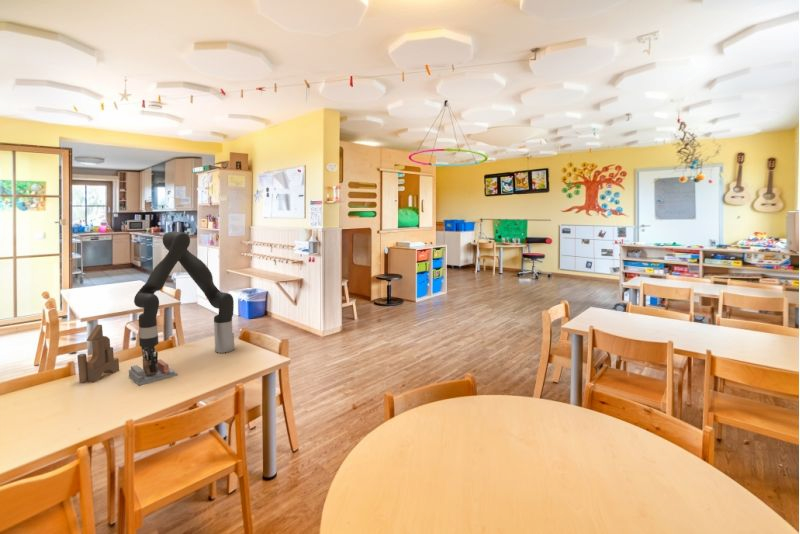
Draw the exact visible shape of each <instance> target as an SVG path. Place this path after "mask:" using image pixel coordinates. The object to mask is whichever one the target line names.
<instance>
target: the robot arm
mask: <svg viewBox="0 0 800 534" xmlns="http://www.w3.org/2000/svg"><path fill="white" fill-rule="evenodd" d="M190 243H191V238H190V236H189V235H188V234H187V233H186V232H183V231H169V232H166V233H164V234H163V237H162V244H163V246H164V247H165V248H166V250H167V251H168V252H167V254H166V255H165V257H164V258H162V260H161V261H160V262H159V263H157V265H156V266H155V267H154V268H153V269H152V271H151V273H150V275H149V276H148V279H147V281H146V282H145V283H144V284H143V286H142V287H141V288H139V290H138V292H136V294H135V295H134V299H133V303H134V305H135V306H136V308H140V309H143V311H142V313H141V314H139V316H138V342H139V343H138V344H139V347H141V352H142V353H141V354H142V360H143V359H144V358H147V360H149V364H150V372H151V373H152V372H155V371H156V366H155V364H157V361H158V360H159V359H158V357H159V355H158V354H159V352H158V351H157V349H156V348H155V347H156V346H158V345H159V342H160V341H159V329H158V322H157V321H158V319H157V314H158V312H159V308H160V301H159V297H158V296H157V294H155V293H156V292H158V291H161V290H162V289H163V288H164V286H165V284H166V282H167V280H168V278H169V276H170V274H171V272H172V271H173V269H174V267H175V266H176V265H177V263H180V265H181V266H182V267H183V269H184V270H185V271H186V272H187V274H188V276H190V277H191V279H192V280H193V281H194V283H195V284H196V285H197V286H198V288H199V289H200V290H201V291H202V292H203V294H204V296H205V298H206V300H208V302H209V304H210V305H211V307H213V308H215V309H217V310H218V314H217V315H215V316H214V317H213V327H214V352H215V353H217V352H218V353H217V354H226V353H230V352H232V351H234V350H235V333H234V332H233V317H234V308H235V306H234V304H235V303H234V297H233V295H232V294H231V293H227V292H222V291H220V290H219V288H218V287H217V286H216V284H215V283H214V278H213V274H212V272H211V270H210V269H209V267H208V266H207V265H206V263H204V261H202V259H200V258H198V257H197V256H195V255H194V254H193V253H192V252H191V251H189V250H188V249H189V246H190V245H191V244H190ZM233 349H234V350H233ZM225 352H226V353H225ZM149 357H151V358H149ZM153 360H154V362H153Z"/></svg>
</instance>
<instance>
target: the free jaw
mask: <svg viewBox="0 0 800 534" xmlns="http://www.w3.org/2000/svg"><path fill="white" fill-rule="evenodd" d="M157 365H158V370H159V371H160V372H161V373H163V374H167V373H170V370H169V368H170V365H169V364H168V363H167V362H165V361H164V360H162V359H158V361H157Z"/></svg>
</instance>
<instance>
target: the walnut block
mask: <svg viewBox="0 0 800 534" xmlns="http://www.w3.org/2000/svg"><path fill="white" fill-rule="evenodd" d="M149 358H151V357H149ZM153 362H154V360H153ZM155 366H156V371H155V372H152V373H151V372H150V364H149V360H147V358H144V359H143V358H142V369H143V370H144V371H145V374H146V375H149V374H153V373H157V372H158V365H157V364H155Z"/></svg>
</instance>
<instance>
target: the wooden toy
mask: <svg viewBox="0 0 800 534" xmlns="http://www.w3.org/2000/svg"><path fill="white" fill-rule="evenodd" d="M103 333H104V332H103V325H102V324H96V325H95V327H94V328H93V329H92V331H91V333H90V334H89V336H88V337H87V339H86V341H87V342H91V346H92V349H91V350H92V356H91V358H90V359H89V360H88V359H87V358H88V357H87V354H86V353H79V354H78V355H77V368H78V369H77V370H78V380H79V383H80V384H84V383H87V382H89V383H95V382H98V381H100V380H102V375H103V374H115V373H117V372H120V362H119V361H120V360H119V357H114V356H115V355H114V347H113V346H111V341H110V338H109V337H108V336H107V335H104V334H103Z"/></svg>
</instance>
